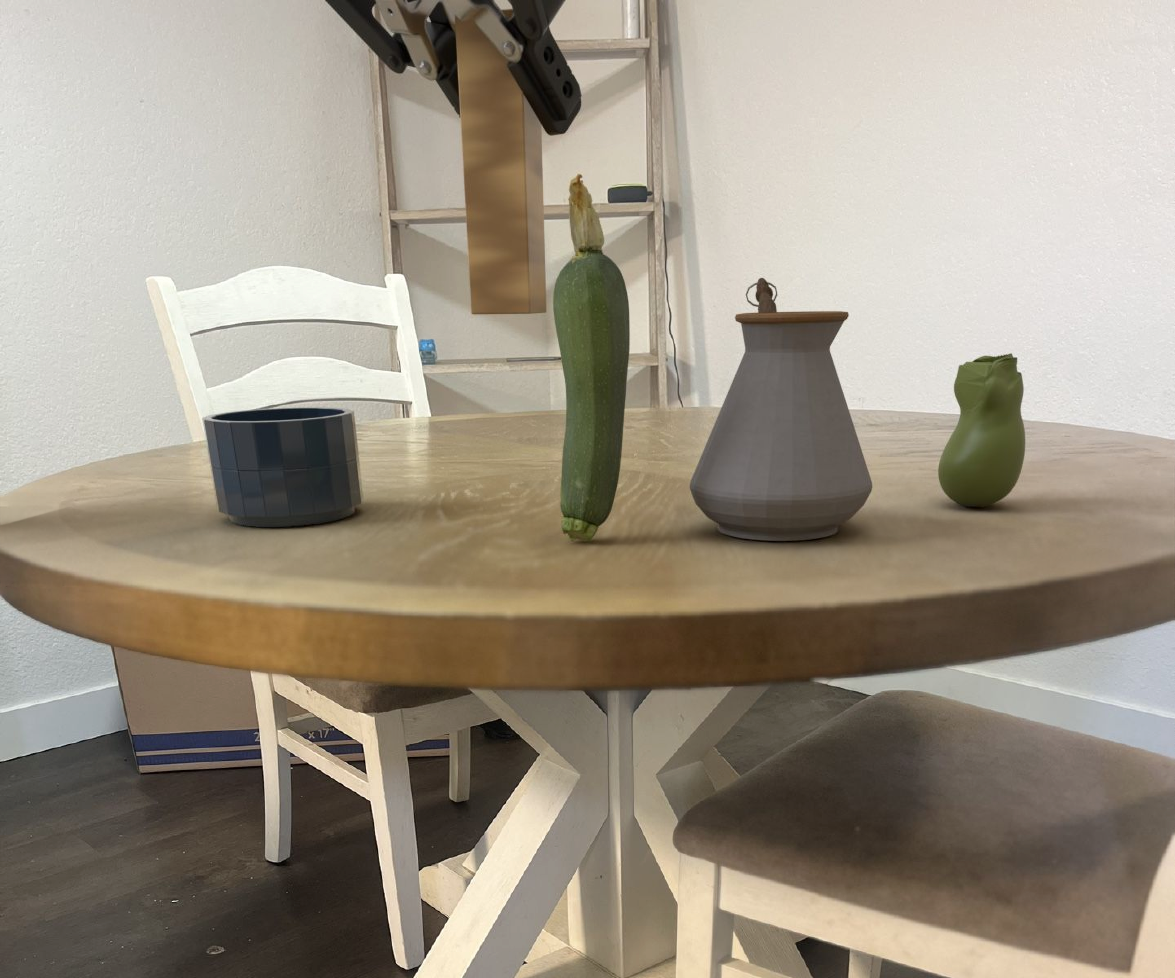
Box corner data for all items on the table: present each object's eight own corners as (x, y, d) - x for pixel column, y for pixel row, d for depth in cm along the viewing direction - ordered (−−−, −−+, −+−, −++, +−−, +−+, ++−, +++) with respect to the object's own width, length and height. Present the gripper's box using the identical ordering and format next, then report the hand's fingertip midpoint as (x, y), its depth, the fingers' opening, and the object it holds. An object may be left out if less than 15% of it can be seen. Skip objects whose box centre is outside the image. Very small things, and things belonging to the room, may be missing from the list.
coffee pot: (886, 547, 62) (913, 267, 56) (693, 549, 63) (699, 272, 56) (826, 488, 82) (841, 276, 75) (678, 491, 82) (682, 279, 76)
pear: (1031, 510, 72) (1055, 353, 67) (961, 515, 71) (982, 356, 66) (985, 497, 77) (1005, 350, 72) (919, 501, 76) (936, 352, 71)
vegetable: (596, 531, 68) (590, 181, 60) (645, 540, 66) (646, 174, 57) (546, 542, 66) (533, 176, 57) (595, 552, 63) (588, 169, 54)
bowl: (191, 527, 73) (172, 422, 70) (264, 501, 82) (250, 407, 79) (325, 531, 70) (312, 422, 67) (386, 504, 79) (376, 407, 76)
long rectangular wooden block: (470, 314, 50) (453, 12, 45) (490, 313, 53) (476, 28, 48) (530, 313, 50) (520, 7, 45) (547, 312, 52) (538, 23, 47)
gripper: (454, -482, 32) (686, 44, 46) (222, -311, 41) (472, 88, 54) (330, -316, 31) (606, 176, 44) (119, -176, 40) (400, 199, 53)
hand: (531, 126), depth 49 cm, fingers closed on long rectangular wooden block, 4 cm apart
